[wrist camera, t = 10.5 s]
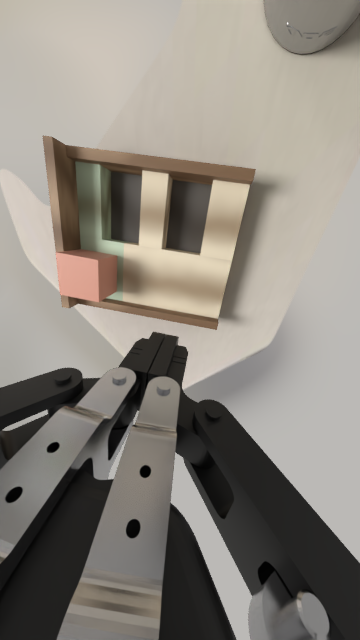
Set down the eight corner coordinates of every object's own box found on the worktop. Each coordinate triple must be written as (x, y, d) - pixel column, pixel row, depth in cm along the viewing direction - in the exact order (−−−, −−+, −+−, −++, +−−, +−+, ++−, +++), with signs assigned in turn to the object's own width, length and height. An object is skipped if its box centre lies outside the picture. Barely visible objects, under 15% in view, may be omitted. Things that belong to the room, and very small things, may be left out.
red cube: (82, 249, 27) (55, 252, 22) (117, 255, 27) (97, 260, 22) (83, 285, 29) (60, 294, 24) (116, 291, 29) (98, 302, 24)
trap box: (81, 158, 25) (42, 135, 19) (248, 180, 24) (260, 162, 18) (89, 293, 33) (62, 306, 27) (215, 317, 31) (217, 336, 25)
